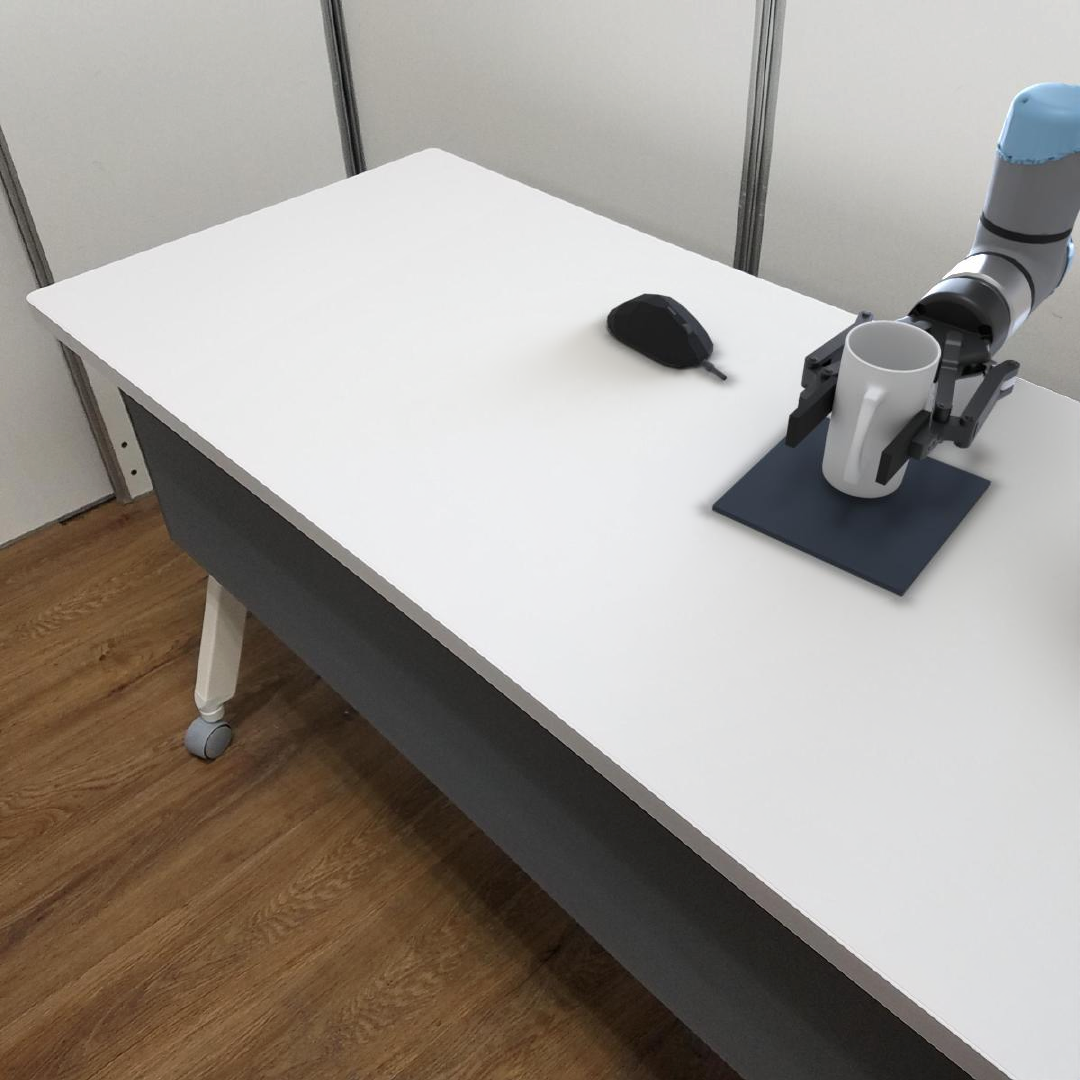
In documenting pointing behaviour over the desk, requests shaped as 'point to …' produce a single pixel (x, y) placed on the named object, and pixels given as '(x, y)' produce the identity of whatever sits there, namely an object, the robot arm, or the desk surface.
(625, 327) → the gaming mouse
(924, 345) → the mug
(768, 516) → the mat
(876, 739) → the desk surface
